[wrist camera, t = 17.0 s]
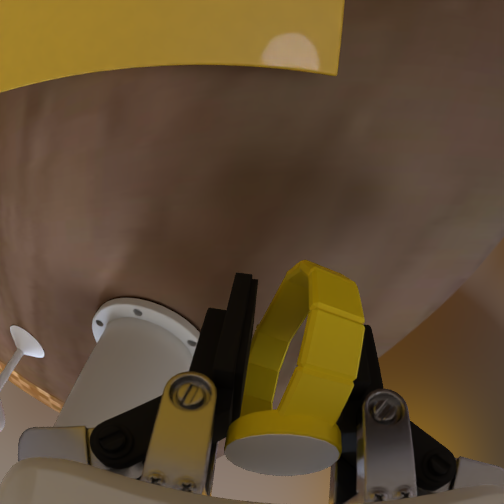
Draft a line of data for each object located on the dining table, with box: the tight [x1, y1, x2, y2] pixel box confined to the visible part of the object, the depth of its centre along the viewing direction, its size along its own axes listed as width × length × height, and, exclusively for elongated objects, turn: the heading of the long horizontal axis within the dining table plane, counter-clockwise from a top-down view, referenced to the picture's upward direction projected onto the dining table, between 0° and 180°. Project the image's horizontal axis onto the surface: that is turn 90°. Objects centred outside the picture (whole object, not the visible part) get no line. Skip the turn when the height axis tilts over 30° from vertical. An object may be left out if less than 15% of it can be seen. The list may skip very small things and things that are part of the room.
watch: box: [224, 260, 365, 476], centre depth 9 cm, size 6×3×6 cm, turn 159°
